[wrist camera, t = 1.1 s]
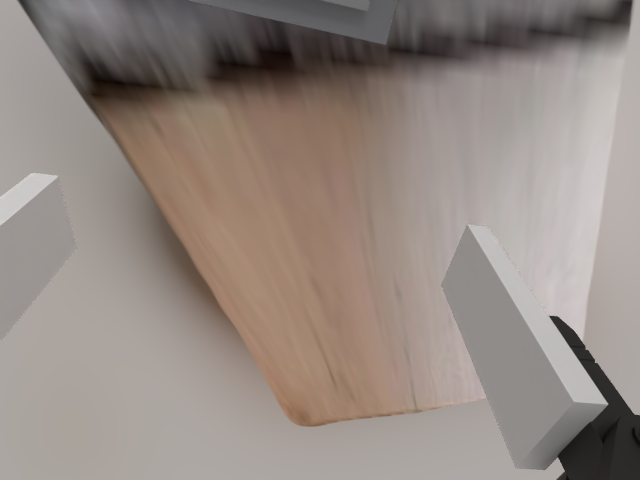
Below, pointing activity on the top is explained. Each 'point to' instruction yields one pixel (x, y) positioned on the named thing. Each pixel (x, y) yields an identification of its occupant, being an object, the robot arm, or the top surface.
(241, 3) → the socket housing
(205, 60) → the top surface
